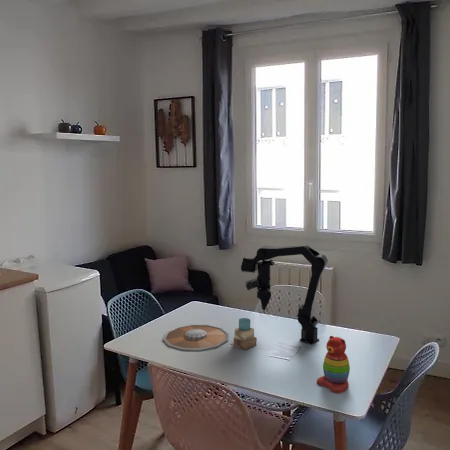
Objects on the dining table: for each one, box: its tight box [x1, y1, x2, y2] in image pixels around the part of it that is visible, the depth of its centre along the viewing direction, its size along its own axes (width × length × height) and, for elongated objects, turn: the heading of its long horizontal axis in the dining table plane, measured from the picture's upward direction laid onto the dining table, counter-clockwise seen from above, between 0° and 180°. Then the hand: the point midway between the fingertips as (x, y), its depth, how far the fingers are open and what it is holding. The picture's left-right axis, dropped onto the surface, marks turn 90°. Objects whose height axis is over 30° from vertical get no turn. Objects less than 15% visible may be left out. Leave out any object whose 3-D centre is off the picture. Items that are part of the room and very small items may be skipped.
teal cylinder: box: [238, 317, 251, 331], centre depth 207 cm, size 5×5×4 cm
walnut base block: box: [233, 336, 257, 351], centre depth 208 cm, size 7×7×4 cm
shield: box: [162, 324, 229, 352], centre depth 217 cm, size 30×3×30 cm
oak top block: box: [234, 327, 255, 342], centre depth 207 cm, size 6×6×4 cm
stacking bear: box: [316, 335, 351, 394], centre depth 172 cm, size 11×10×18 cm
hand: (263, 306), depth 220 cm, fingers open, 9 cm apart
